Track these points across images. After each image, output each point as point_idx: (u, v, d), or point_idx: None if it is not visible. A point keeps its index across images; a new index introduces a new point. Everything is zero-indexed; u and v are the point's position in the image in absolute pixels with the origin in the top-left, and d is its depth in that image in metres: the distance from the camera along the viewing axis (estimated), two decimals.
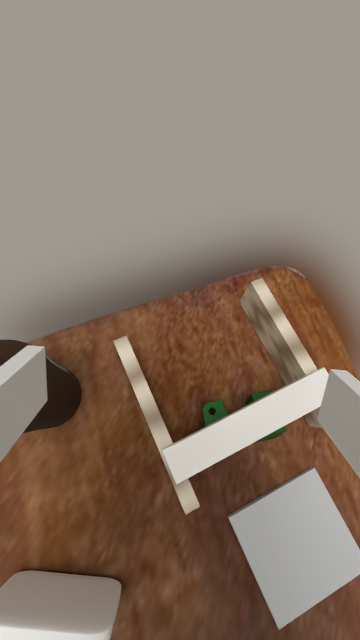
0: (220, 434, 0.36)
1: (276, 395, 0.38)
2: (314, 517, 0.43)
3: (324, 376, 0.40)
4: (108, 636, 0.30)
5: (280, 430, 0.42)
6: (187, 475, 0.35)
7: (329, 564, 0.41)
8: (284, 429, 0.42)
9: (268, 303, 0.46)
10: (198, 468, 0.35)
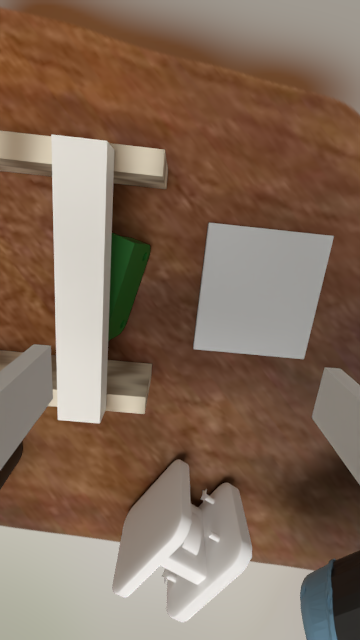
0: (72, 351, 0.26)
1: (58, 246, 0.23)
2: (252, 261, 0.34)
3: (65, 145, 0.21)
4: (185, 521, 0.33)
5: (130, 251, 0.29)
6: (97, 408, 0.28)
7: (299, 277, 0.34)
8: (132, 245, 0.28)
9: None
10: (97, 394, 0.27)
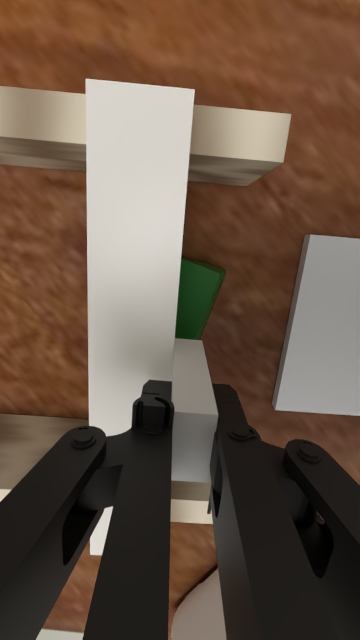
0: None
1: (95, 290, 0.13)
2: None
3: (112, 101, 0.11)
4: None
5: (213, 286, 0.18)
6: None
7: None
8: (216, 277, 0.18)
9: None
10: None
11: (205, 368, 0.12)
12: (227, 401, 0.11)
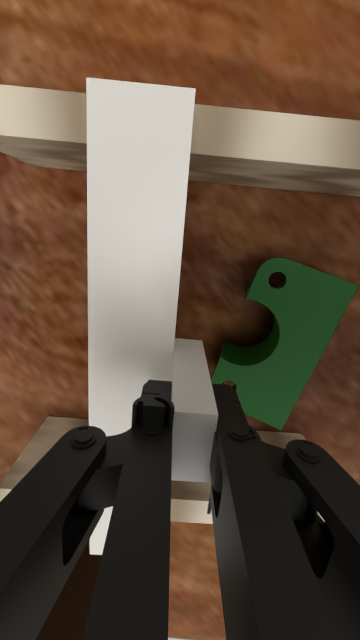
0: None
1: (95, 289, 0.13)
2: None
3: (113, 100, 0.11)
4: None
5: (349, 297, 0.18)
6: None
7: None
8: (354, 288, 0.18)
9: (46, 121, 0.14)
10: None
11: (205, 368, 0.12)
12: (227, 401, 0.11)
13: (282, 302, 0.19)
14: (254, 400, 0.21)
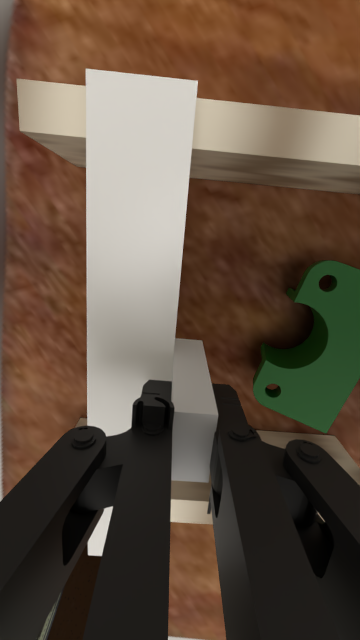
0: None
1: (95, 286, 0.13)
2: None
3: (113, 92, 0.11)
4: None
5: None
6: None
7: None
8: None
9: None
10: None
11: (205, 368, 0.12)
12: (227, 401, 0.11)
13: (332, 306, 0.19)
14: (299, 403, 0.21)
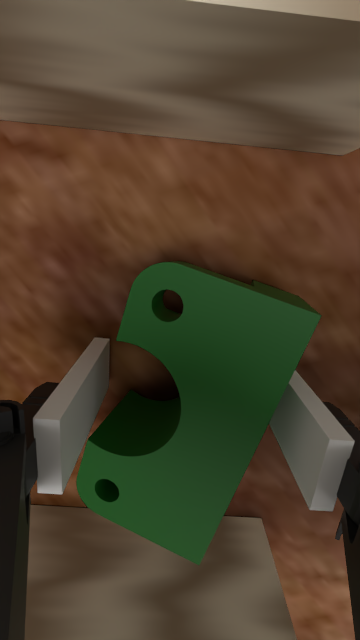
0: None
1: None
2: None
3: None
4: None
5: (304, 340, 0.09)
6: None
7: None
8: (312, 322, 0.09)
9: None
10: None
11: (305, 385, 0.12)
12: (339, 422, 0.11)
13: (179, 347, 0.10)
14: (150, 514, 0.12)
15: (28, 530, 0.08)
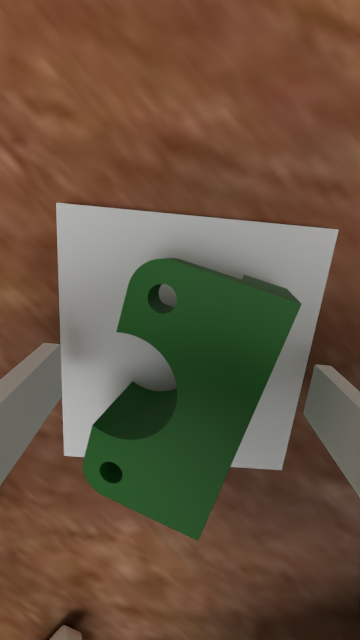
0: None
1: None
2: (163, 287, 0.16)
3: None
4: None
5: (287, 327, 0.10)
6: None
7: None
8: (293, 310, 0.10)
9: None
10: None
11: None
12: None
13: (174, 337, 0.11)
14: (151, 493, 0.13)
15: None
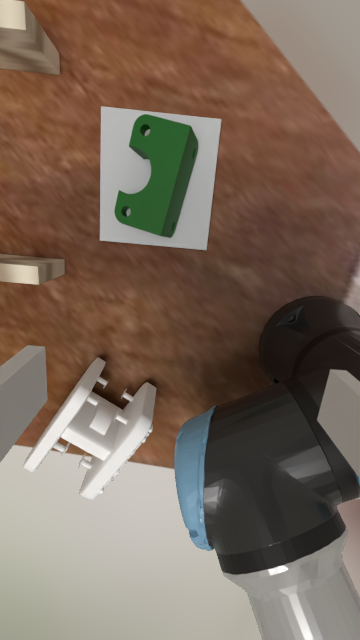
0: None
1: None
2: None
3: None
4: (83, 390, 0.34)
5: (186, 135, 0.30)
6: None
7: None
8: (188, 128, 0.30)
9: None
10: None
11: None
12: None
13: (149, 145, 0.31)
14: (142, 217, 0.33)
15: None
